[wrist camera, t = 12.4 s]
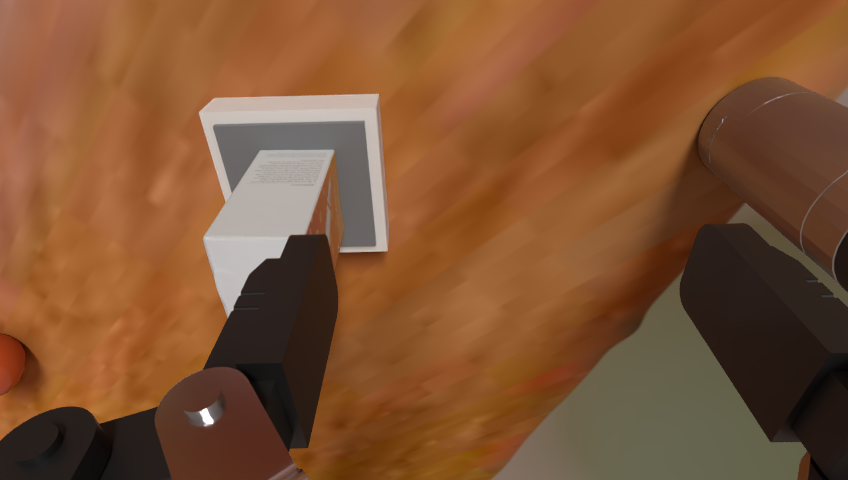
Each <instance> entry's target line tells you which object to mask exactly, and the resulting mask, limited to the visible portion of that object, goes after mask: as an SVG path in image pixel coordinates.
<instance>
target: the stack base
mask: <svg viewBox="0 0 848 480" xmlns="http://www.w3.org/2000/svg"><path fill="white" fill-rule="evenodd" d="M199 115H200V119H201V122H202V125H203V128H204V132H205V135H206V138H207V142H208V145H209V148H210V152H211V155H212V158H213V162H214V165H215V168H216V172H217V175H218V178H219V182H220V185H221V188H222V192H223V195H224V198H225V202H227V200H228V199H229V197H230V196H231V194H232V192H233V191H234V189H235V188H236V186H237V185H238V183H239V182H240V180H241V179H242V177H243V176H244V174H245V173H246V171H247V170H248V168H249V166H250V165H251V163H252V162H253V160H254V159H255V157H256V156H257V154H258V153H259V151H260V150H332V149H333V150H334V151H335V157H336V167H337V176H338V186H339V195H340V202H341V210H342V217H343V223H344V234H343V239H342V243H341V248H340V251H339V252H377V251H388V240H389V220H388V207H387V194H386V181H385V168H384V154H383V141H382V128H381V115H380V102H379V94H355V95H315V96H276V97H236V98H214V99H213V100H212V101H210V102H209V103H208V104H207V105H206V106H205V107H204V108H203V109H202V110H201V111H200V112H199Z"/></svg>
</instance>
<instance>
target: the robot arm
mask: <svg viewBox="0 0 848 480" xmlns="http://www.w3.org/2000/svg"><path fill="white" fill-rule="evenodd" d="M698 153H699V156H700V159H701V161H702V162H703V164H704V165H705V166H706V167H707V168H708V169H709V170H710V171H711V172H712V173H714V174H715V175H716V176H717V177H718V178H719V179H720V180H721V181H722V182H724V183H725V184H726V185H727V186H728V187H729V188H730V189H731V190H732V191H733V192H734V193H736V194H737V195H738V196H739V197H740V198H741V199H742V200H744V201H745V202H746V203H747V204H748V205H749V206H750V207H751V208H753V209H754V210H755V211H756V212H757V213H758V214H759V215H761V216H762V217H763V218H764V219H765V220H766V221H767V222H768V223H770V224H771V225H772V226H773V227H774V228H775V229H776V230H777V231H779V232H780V233H781V234H782V235H783V236H784V237H785V238H787V239H788V240H789V241H790V242H791V243H792V244H793V245H794V246H796V247H797V248H798V249H799V250H800V251H801V252H803V253H804V254H805V255H806V256H807V257H808V258H809V259H811V260H812V261H813V262H814V263H815V264H816V265H817V266H819V267H820V268H821V269H822V270H823V271H824V272H825V273H827V274H828V275H829V276H830V277H831V278H832V279H833V280H835V281H836V282H837V283H838V284H839V285H840V286H841V287H843V288H844V289H845V290H846V291H847V292H848V107H846V106H844V105H841V104H839V103H837V102H835V101H833V100H830V99H828V98H826V97H824V96H822V95H820V94H818V93H816V92H813V91H811V90H809V89H807V88H805V87H802V86H800V85H798V84H796V83H794V82H791V81H789V80H785V79H781V78H765V79H760V80H755V81H752V82H750V83H747V84H745V85H742V86H741V87H739V88H737V89H736V90H734V91H732V92H731V93H729V94H728V95H727V96H726V97H724V98H723V99H722V100H721V101H720V102H719V103H718V104H717V105H716V106H715V107H714V108H713V109H712V110H711V112H710V113H709V115H708V116H707V118H706V119H705V121H704V123H703V125H702V128H701V130H700V133H699V138H698ZM817 280H818V279H817V278H816V277H815V276H814V275H813V274H812V273H811V272H810V271H809V270H808V269H806V268H805V266H803V265H802V264H801V263H800V262H799V261H798V260H796V259H794V258H792V257H791V256H789V255H787V254H785V253H784V252H782V251H780V250H778V249H776V248H775V247H773V246H770V245H769V244H768V243H767V242H766V241H765V240H764V239H763V238H762V237H761V236H760V235H759V234H758V233H757V232H756V231H755V230H753V228H752V227H750V226H749V225H747V224H744V223H741V224H740V223H739V224H707V225H704V226H703V227H702V228H701V229H700V230H699V232H698V234H697V237H696V239H695V242H694V245H693V248H692V251H691V253H690V256H689V259H688V262H687V265H686V267H685V270H684V273H683V276H682V279H681V282H680V298H681V302H682V305H683V307H684V309H685V311H686V312H687V314H688V315H689V317H690V318H691V320H692V321H693V323H694V325H695V326H696V328H697V329H698V331H699V332H700V334H701V335H702V337H703V339H704V340H705V342H706V343H707V344H708V346H709V348H710V349H711V351H712V352H713V354H714V356H715V357H716V359H717V360H718V362H719V363H720V365H721V366H722V368H723V369H724V371H725V372H726V374H727V376H728V377H729V379H730V380H731V382H732V383H733V385H734V386H735V388H736V389H737V391H738V393H739V394H740V395H741V397H742V399H743V400H744V402H745V403H746V405H747V406H748V408H749V409H750V411H751V412H752V414H753V416H754V417H755V419H756V420H757V422H758V423H759V425H760V427H761V428H762V429H763V431H764V433H765V434H766V436H767V437H768V439H769V440H770V442H802V444H803V445H804V447H805V448H806V450H807V452H806V453H805V455H804V456H803V457H802V459H801V461H800V464H799V472H798V479H797V480H848V307H847V306H846V305H845V304H844V303H843V302H842V301H841V300H840V299H839V298H834V297H833V293H832V292H831V291H830V290H829V289H828V288H827V287H826V286H825V285H824V284H823V283H818V281H817ZM233 308H234V310H233V311H231V313H230V315H229V317H228V319H227V321H226V323H225V325H224V327H223V329H222V331H221V333H220V335H219V338H218V340H217V342H216V344H215V346H214V348H213V350H212V352H211V354H210V356H209V358H208V360H207V362H206V364H205V366H204V368H203V370H201V371H198V372H196V373H193V374H191V375H189V376H188V377H186V378H184V379H183V380H181V381H180V382H178V383H177V384H176V385H175V386H173V387H172V388H171V389H170V390H169V391H168V392H167V394H166V395H165V396H164V397H163V399H162V400H161V402H160V404H159V406H158V407H155V408H152V409H149V410H146V411H142V412H139V413H136V414H132V415H129V416H125V417H122V418H118V419H115V420H111V421H108V422H104V423H101V424H99V423H98V422H97V420H96V419H95V418H94V416H93V415H92V414H91V413H90V412H89V411H88V410H86V409H84V408H80V407H61V408H56V409H53V410H49V411H47V412H44V413H41V414H39V415H37V416H35V417H33V418H31V419H29V420H27V421H26V422H24V423H22V424H21V425H19V426H18V427H16V428H15V429H13V430H12V431H11V432H10V433H9V434H7V435H6V436H5V437H4V438H3V439H2V440H1V441H0V480H309V479H308V477H307V476H306V474H305V473H304V471H303V470H302V469H300V470H299V469H298V468H297V466H296V465H295V463H294V461H293V459H292V458H291V456H290V454H289V449H290V448H308V446H309V441H310V437H311V432H312V428H313V423H314V418H315V414H316V409H317V405H318V400H319V396H320V391H321V386H322V382H323V377H324V373H325V368H326V364H327V359H328V355H329V350H330V345H331V341H332V336H333V332H334V327H335V323H336V318H337V312H338V290H337V284H336V278H335V273H334V268H333V262H332V257H331V251H330V246H329V241H328V238H327V236H326V234H305V235H290V236H289V238H288V240H287V242H286V245H285V247H284V249H283V252H282V254H281V256H280V258H267V259H265V260H264V261H263V262H262V263H261V264H260V265H259V266H258V267H257V268H255V269H254V270H253V271H252V272H251V273H250V274H249V276H248V278H247V280H246V282H245V284H244V286H243V288H242V290H241V296H238V298H237V300H236V302H235V305H234V307H233Z"/></svg>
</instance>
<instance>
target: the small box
mask: <svg viewBox="0 0 848 480" xmlns="http://www.w3.org/2000/svg"><path fill="white" fill-rule="evenodd" d="M305 234H326V236H327V238H328V241H329V246H330V251H331V257H332V262H333V268H334V273H335V269H336V264H337V260H338V255H339V251H340V248H341V243H342V239H343V234H344V223H343V217H342V210H341V202H340V195H339V186H338V176H337V167H336V157H335V151H334V150H333V149H332V150H260V151H259V153H258V154H257V156H256V157H255V159H254V160H253V162H252V163H251V165H250V166H249V168H248V170H247V171H246V173H245V174H244V176H243V177H242V179H241V180H240V182H239V183H238V185H237V186H236V188H235V189H234V191H233V192H232V194H231V196H230V197H229V199H228V200H227V202H226V203H225V205H224V206H223V208H222V209H221V211H220V213H219V214H218V216H217V217H216V219H215V220H214V222H213V223H212V225H211V226H210V228H209V229H208V231H207V232H206V234H205V235H204V237H203V242H204V245H205V249H206V252H207V255H208V259H209V262H210V265H211V268H212V272H213V275H214V279H215V283H216V287H217V290H218V293H219V296H220V298H221V301H222V303H223V305H224V308H225V311H226V314H227V317H229V315H230V313H231V311H233V310H234V308H233V307H234V305H235V302H236V300H237V298H238V296H241V290H242V288H243V286H244V284H245V282H246V280H247V278H248V276H249V274H250V273H251V272H252V271H253V270H254V269H255V268H257V267H258V266H259V265H260V264H261V263H262V262H263V261H264V260H265V259H267V258H280V256H281V254H282V252H283V249H284V247H285V245H286V242H287V240H288V238H289V236H290V235H305Z"/></svg>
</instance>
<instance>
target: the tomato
mask: <svg viewBox="0 0 848 480" xmlns="http://www.w3.org/2000/svg"><path fill="white" fill-rule="evenodd" d="M25 365H26V353H25V350H24V348H23V346H22V344H21V343H20V342H19V341H18V340H16V339H15V338H13V337H11V336H8V335H5V334H0V396H1V395H3V394H5V393H7V392H8V391H10V390H11V389H12V388H13V387H14V386H15V385H16V384H17V383H18V382H19V380H20V379H21V377H22V375H23V372H24V368H25Z"/></svg>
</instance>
